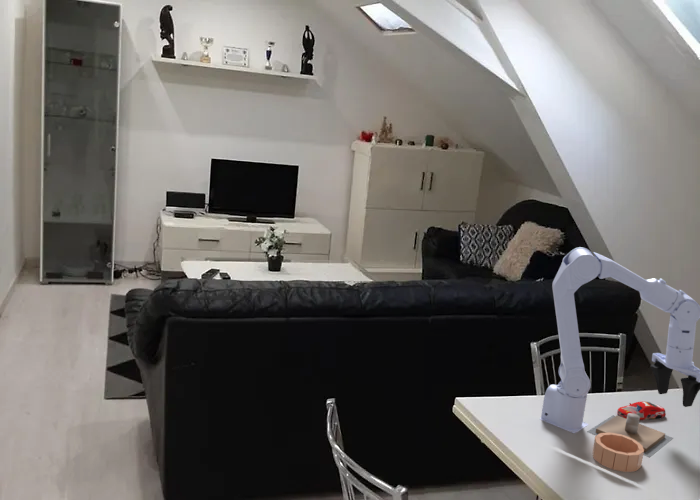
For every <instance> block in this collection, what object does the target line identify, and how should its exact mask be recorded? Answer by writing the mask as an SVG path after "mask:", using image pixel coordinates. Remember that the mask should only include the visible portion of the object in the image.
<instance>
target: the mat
mask: <svg viewBox="0 0 700 500" xmlns="http://www.w3.org/2000/svg"><path fill="white" fill-rule="evenodd" d="M615 416H616V415H611V416H610V417H608V418H606V419H604V421H602V422H599V423H598V424H597V425H595V426H594V427H592V428H591V429H589V430H587V431H586V432H587V433H589V434H591V435H594V436H596V435H598V433H596V428H598V427H599V426H601V425H603V424H604V423H606V422H607V421H609V420H610V419H612V418H614V417H615ZM673 439H674V438H673V437H671V436H669V435H666V434H665V438H663V439H662V440H661V441H659V442H658V443H657V444H656V445H654V446H653V447H652V448H651V449H649V450H648V451H647V452H646V453H645V452H644V454H643V456H645V457H646V458H647V457H648V458H651V457H652V456H654V454H655V453H657V452H659V450H660V449H662V448H663V447H664V446H666V445H667V444H668V443H669V442H671V441H672V440H673Z"/></svg>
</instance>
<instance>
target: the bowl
mask: <svg viewBox="0 0 700 500" xmlns="http://www.w3.org/2000/svg"><path fill="white" fill-rule="evenodd" d="M594 436H595V437H594V441H593V445H592V446H593V447H592V450H591V451H592V457H593V460H595V461H596V462H598V464H599V465H602V466H604V467H606V468H608V471H610V470H613V471H618V472H624V473H630V472H631V473H632V472H636V471H638V470H640V468H642V464H643V458H644V455H643V454H644V449H643V446H642V445H641V444H640V443H639V442H637V441H636V440H634V439H632V438H630V437H627V436H625V435H622V434H616V433H610V432H609V433H600V434H598V435H594ZM604 467H601V468H604Z"/></svg>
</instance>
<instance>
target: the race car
mask: <svg viewBox="0 0 700 500" xmlns="http://www.w3.org/2000/svg"><path fill="white" fill-rule="evenodd" d="M616 413H617V415H618V416H620V417H623V418H626V419H627V414H628V413H633V414H637V415H638V416H640V420H639V421H641V420H642V421H643V420H658V419H665V418H666V414H667V413H666V409H665V408H664V407H662V406H661V405H659V404H656V403H652V402H650V401H636V402H633V403H631V402H629V404H628V405H624V406H621V407H618V409H617V412H616Z"/></svg>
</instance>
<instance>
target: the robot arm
mask: <svg viewBox="0 0 700 500" xmlns="http://www.w3.org/2000/svg"><path fill="white" fill-rule="evenodd" d="M593 254H594V255H593ZM597 277H598V278H599V279H601V280H602V279H607V278H611V279H614V280H616V281H617V282H619V283H622V284H624V285H625V286H628V287H629V288H632V289H634V290H635V291H637V292H638V293H639V296H640V299H641V300H642V301H644V302H646V303H648V304H650V305H651V306H654V307H655V308H657V309H659V310H661V311H663V312H664V313H669V314H670V315H669V324H668V329H667V330H668V331H667V341H666V350H665V354H663V353H660V352H653V353H652V354H651V362H653V364H650V369H651V371H652V373H653V375H654V378H655V379H654V380H655V382H656V387H657V393H658V394H659V395H666V394H667V393H668V391H669V387H670V378H671V376H672V373H673V370H674V371H676V372H678V373H680V374H683V375H686V376H687V377H682V378H680V382H681V383H680V384H681V386H682V406H683V407H684V408H688V407H693V404H694V402H695V399H696V397H697V395H698V393H699V391H700V368H699V367H697V366H696V365H695V362H694V361H693V358H694V350H695V349H694V348H695V340H696V332H697V331H696V330H697V322H698V321H699V320H700V304H699V303H698V302H697V301H696V300H695V299H694V298H692V297H691V296H690V295H688V294H687V292H685V291H684V290H682V289H679V290H677V289H676V288H674V287H672V286H670V285H668V284H667V281H666V280H664V279H663V278H661V277H660V278H659V279H658V278H654V277H652V278H648V279H645V278H643V277H642V276H640V275H639V274H637V273H636V272H633V271H631V270H630V269H628V268H627V267H625V266H623V265H621V264H619V262H616V261H615V260H613V259H611V258H609V257H606V256H605V255H602V254H601V253H597V252H595V251H593V252H592V251H591V250H589V249H588V248H586V247H581V246H579V247H575V248H573V249H572V250H570V251H569V252H568V253H567V254H565V255H564V257H563V258H562V262H561V264H560V266H559V268H558V271H557V272H556V274H555V276H554V278H553V281H552V283H551V284H552V286H551V288H552V295H553V303H554V310H555V316H556V317H555V318H556V325H557V333H558V340H559V348H560V365H559V367H558V376H559V377H560V381H559V382H558V384H554V383H553V384H549V386H548V387H547V388H546V390H545V393H544V397H543V401H542V402H543V403H542V408H541V409H542V410H541V416H540V417H539V420H541V421H543V422H545V423H547V424H550V425H553V426H555V427H558V428H560V429H562V430H565V431H566V432H570V433H572V434H577V433H578V432H579V431H581V430H583V429H584V428H586V427H587V426H589V425H590V424H589V423H587V422H586V421H585V422H584V416H585V411H586V405H587V404H586V403H587V400H588V399H587V398H588V393H589V391H590V390H591V380H590V378H589V376H588V375H587V373H586V371H585V363H584V360H583V355H582V349H581V348H582V347H581V342H580V333H579V332H580V331H579V324H578V317H577V309H576V301H575V293H576V292H577V291H578V289H579V288H580V287H581V286H583V285H585V284H587V283H589V282H591V281H592V280H594V279H596V278H597Z"/></svg>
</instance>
